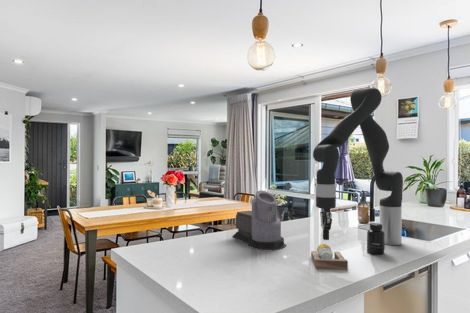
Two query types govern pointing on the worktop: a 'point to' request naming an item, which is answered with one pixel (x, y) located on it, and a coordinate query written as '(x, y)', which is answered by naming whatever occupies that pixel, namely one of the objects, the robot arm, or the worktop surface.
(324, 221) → the robot arm
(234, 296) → the worktop surface
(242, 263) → the worktop surface
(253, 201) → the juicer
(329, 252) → the supplement bottle
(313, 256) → the walnut U-rest
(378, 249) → the supplement bottle
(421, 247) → the worktop surface
